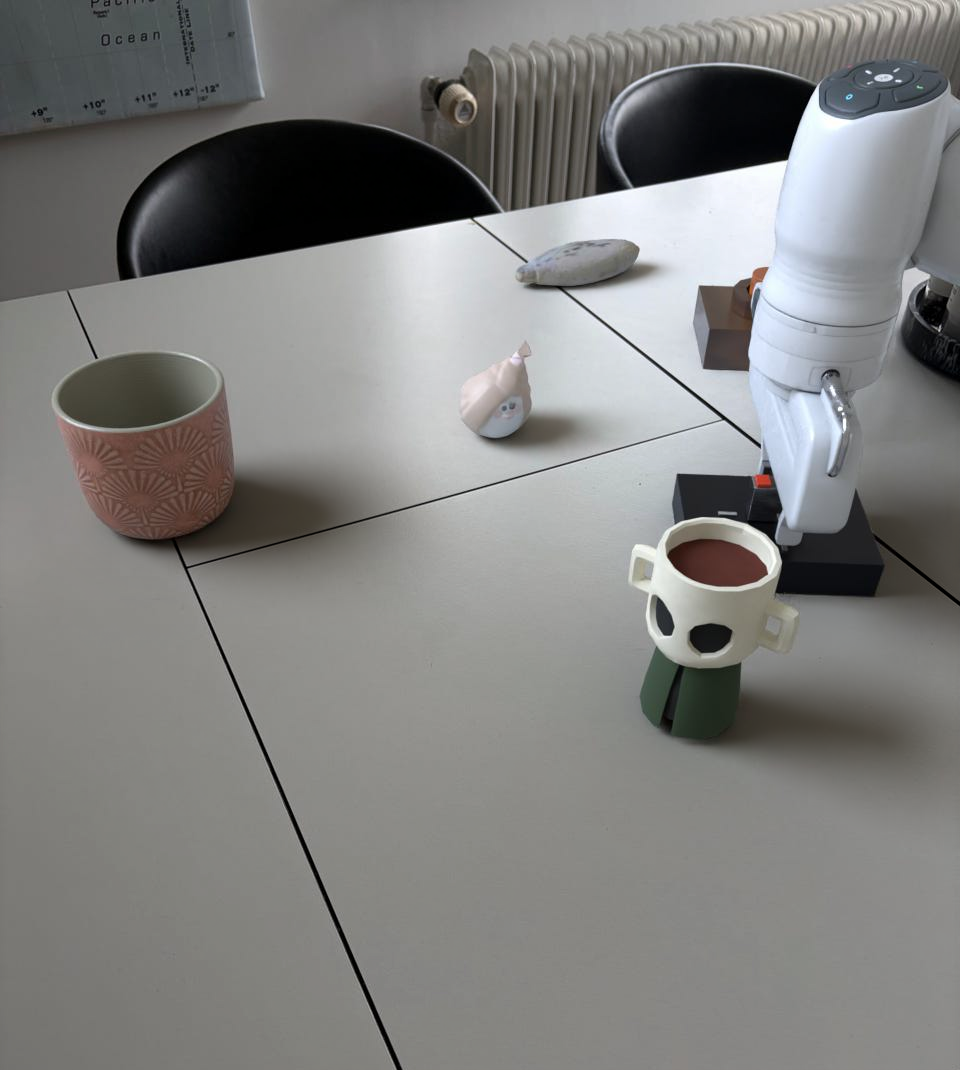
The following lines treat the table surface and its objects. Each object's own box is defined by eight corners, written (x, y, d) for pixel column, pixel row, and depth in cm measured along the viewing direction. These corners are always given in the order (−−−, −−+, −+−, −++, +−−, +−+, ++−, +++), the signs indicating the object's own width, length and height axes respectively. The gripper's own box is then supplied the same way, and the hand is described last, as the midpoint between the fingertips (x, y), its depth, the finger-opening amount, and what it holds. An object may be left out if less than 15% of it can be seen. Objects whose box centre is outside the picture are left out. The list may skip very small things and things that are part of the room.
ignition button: (782, 287, 104) (787, 267, 102) (788, 303, 101) (793, 282, 100) (746, 286, 104) (750, 266, 102) (751, 301, 101) (755, 281, 100)
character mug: (587, 704, 68) (605, 546, 60) (642, 646, 73) (666, 491, 64) (737, 782, 64) (781, 623, 55) (786, 715, 68) (834, 557, 59)
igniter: (806, 327, 110) (820, 271, 106) (825, 373, 102) (840, 315, 98) (692, 323, 110) (701, 267, 106) (702, 368, 103) (712, 311, 99)
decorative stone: (504, 278, 118) (505, 248, 116) (621, 255, 123) (623, 226, 121) (529, 299, 114) (531, 269, 112) (649, 275, 119) (652, 245, 117)
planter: (276, 498, 85) (258, 377, 78) (163, 576, 78) (131, 450, 70) (170, 451, 90) (144, 333, 83) (54, 519, 83) (14, 396, 75)
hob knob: (803, 511, 80) (813, 475, 77) (807, 523, 78) (817, 487, 76) (744, 508, 80) (752, 473, 78) (747, 521, 79) (755, 485, 76)
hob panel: (843, 510, 85) (853, 478, 83) (874, 597, 77) (886, 563, 75) (671, 504, 85) (677, 471, 83) (684, 589, 77) (690, 555, 75)
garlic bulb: (532, 450, 91) (536, 366, 86) (459, 449, 91) (458, 366, 86) (528, 411, 96) (532, 330, 91) (459, 411, 96) (459, 330, 91)
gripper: (906, 421, 62) (848, 599, 71) (836, 277, 77) (796, 440, 86) (798, 417, 62) (754, 595, 71) (750, 275, 77) (719, 437, 86)
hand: (777, 509), depth 79 cm, fingers open, 6 cm apart
